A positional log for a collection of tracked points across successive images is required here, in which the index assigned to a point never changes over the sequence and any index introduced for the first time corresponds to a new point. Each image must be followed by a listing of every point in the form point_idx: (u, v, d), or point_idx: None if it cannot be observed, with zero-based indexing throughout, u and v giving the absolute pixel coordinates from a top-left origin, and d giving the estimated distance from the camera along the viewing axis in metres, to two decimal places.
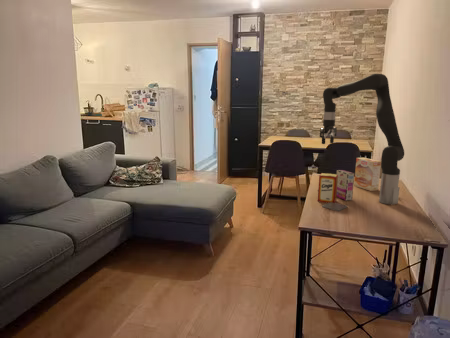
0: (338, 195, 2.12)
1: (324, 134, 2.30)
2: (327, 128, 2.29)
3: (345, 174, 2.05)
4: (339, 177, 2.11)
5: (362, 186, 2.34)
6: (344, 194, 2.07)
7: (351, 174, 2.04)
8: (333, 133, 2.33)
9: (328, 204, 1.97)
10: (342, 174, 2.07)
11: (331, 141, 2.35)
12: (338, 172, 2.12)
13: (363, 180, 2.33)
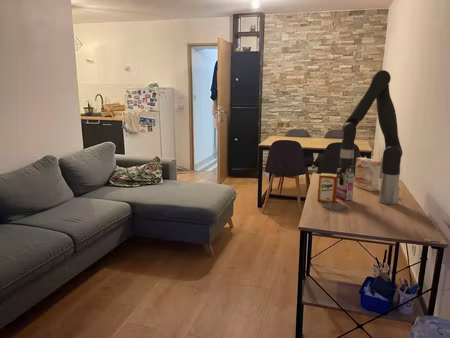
0: (338, 195, 2.12)
1: (342, 174, 2.07)
2: (344, 167, 2.06)
3: (345, 174, 2.05)
4: None
5: (362, 186, 2.34)
6: (344, 194, 2.07)
7: (351, 174, 2.04)
8: None
9: (328, 204, 1.97)
10: None
11: None
12: None
13: (363, 180, 2.33)
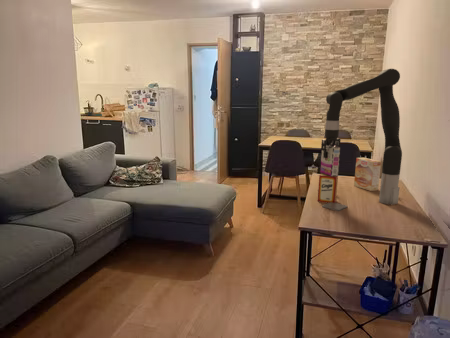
0: (324, 171, 2.03)
1: (326, 146, 1.97)
2: (330, 139, 1.96)
3: (330, 148, 1.96)
4: None
5: (362, 186, 2.34)
6: (329, 169, 1.98)
7: (337, 148, 1.95)
8: (336, 145, 2.00)
9: (328, 204, 1.97)
10: None
11: None
12: (323, 147, 2.03)
13: (363, 180, 2.33)
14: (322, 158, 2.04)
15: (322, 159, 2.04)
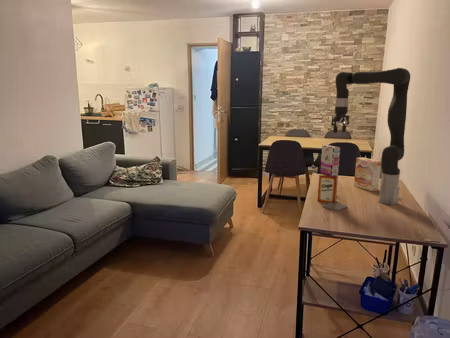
0: (324, 171, 2.03)
1: (336, 122, 2.14)
2: (339, 116, 2.14)
3: (331, 148, 1.96)
4: (324, 152, 2.01)
5: (362, 186, 2.34)
6: (329, 170, 1.98)
7: (337, 148, 1.95)
8: (345, 121, 2.17)
9: (328, 204, 1.97)
10: (328, 149, 1.98)
11: (343, 130, 2.20)
12: (323, 147, 2.03)
13: (363, 180, 2.33)
14: (322, 158, 2.04)
15: (322, 159, 2.04)
